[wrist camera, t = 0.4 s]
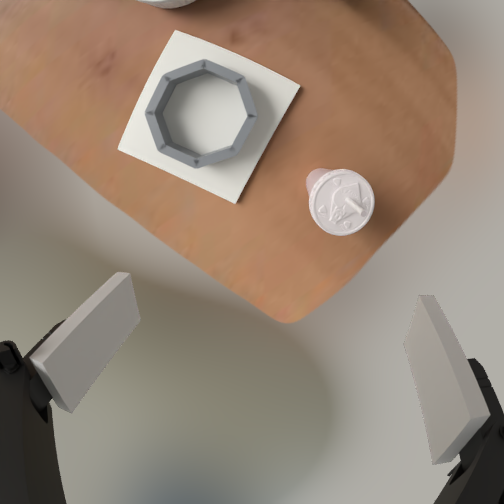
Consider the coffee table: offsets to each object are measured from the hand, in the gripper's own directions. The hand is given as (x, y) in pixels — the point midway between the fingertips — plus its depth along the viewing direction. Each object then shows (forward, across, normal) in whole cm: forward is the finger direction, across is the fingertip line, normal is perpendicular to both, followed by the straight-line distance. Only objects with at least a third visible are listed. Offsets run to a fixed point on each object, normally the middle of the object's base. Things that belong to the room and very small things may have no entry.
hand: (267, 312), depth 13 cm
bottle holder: (+24, -10, +9) cm, 27 cm away
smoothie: (+27, +3, 0) cm, 27 cm away
